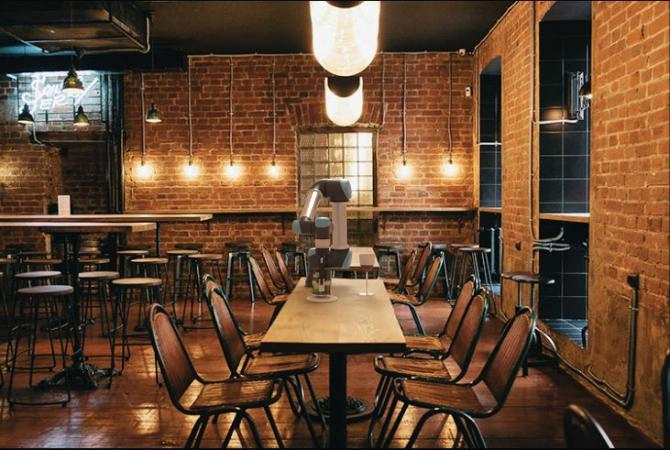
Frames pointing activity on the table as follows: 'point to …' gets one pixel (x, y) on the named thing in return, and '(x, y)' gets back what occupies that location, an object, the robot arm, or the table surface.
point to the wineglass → (367, 267)
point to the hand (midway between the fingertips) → (322, 289)
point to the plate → (321, 298)
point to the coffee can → (326, 282)
